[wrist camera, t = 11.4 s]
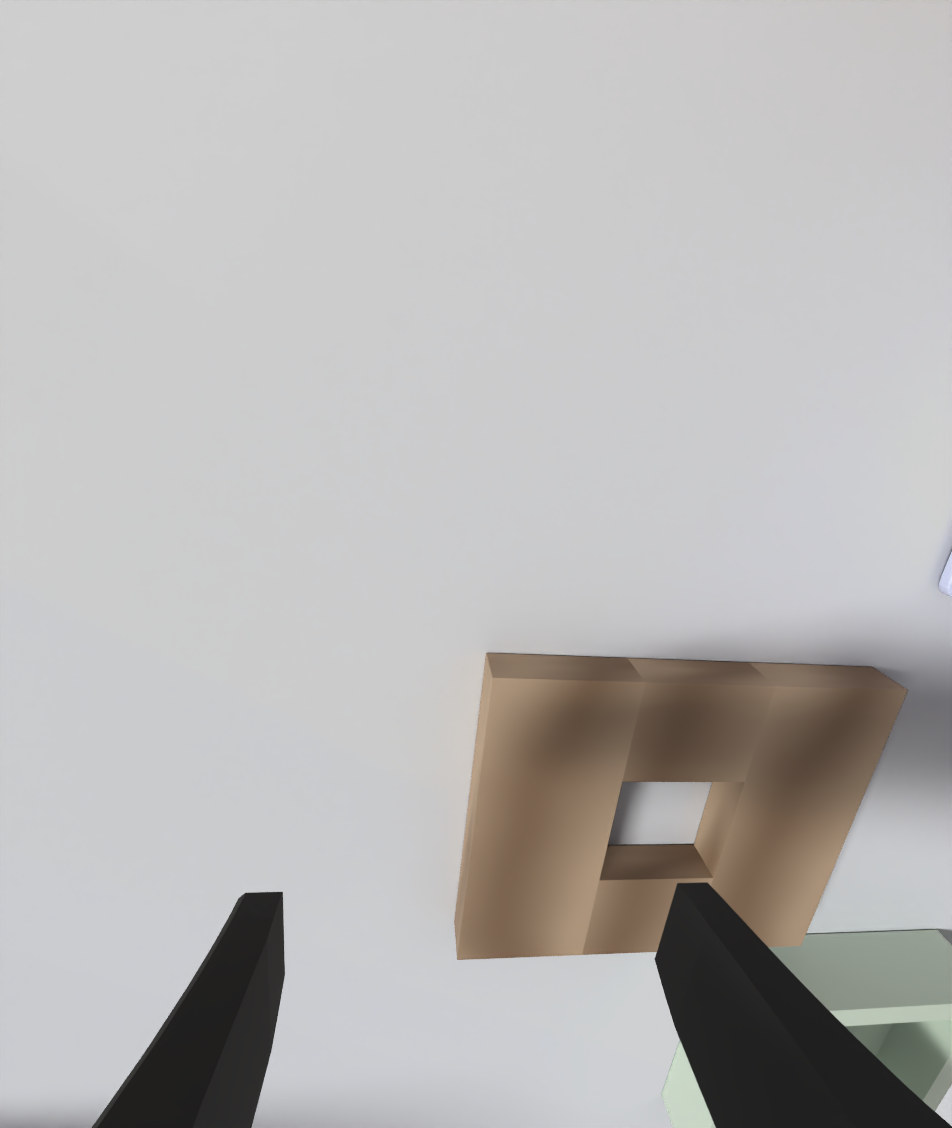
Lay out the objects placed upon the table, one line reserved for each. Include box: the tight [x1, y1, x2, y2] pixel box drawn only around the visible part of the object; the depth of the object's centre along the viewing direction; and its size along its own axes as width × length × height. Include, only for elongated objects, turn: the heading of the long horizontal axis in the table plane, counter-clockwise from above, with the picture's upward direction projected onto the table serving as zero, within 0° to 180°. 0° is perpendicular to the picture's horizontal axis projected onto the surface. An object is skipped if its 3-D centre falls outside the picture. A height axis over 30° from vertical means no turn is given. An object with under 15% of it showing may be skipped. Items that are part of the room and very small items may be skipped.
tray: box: [662, 930, 952, 1128], centre depth 25 cm, size 11×11×3 cm
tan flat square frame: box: [454, 653, 908, 960], centre depth 20 cm, size 14×12×2 cm
